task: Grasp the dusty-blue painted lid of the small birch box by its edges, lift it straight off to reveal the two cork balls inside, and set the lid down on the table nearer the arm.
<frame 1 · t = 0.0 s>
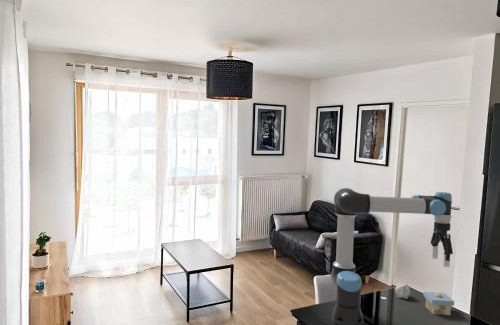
hand: (440, 262, 189), 28 cm above the table, fingers open, 13 cm apart
lid: (438, 300, 194), point 6 cm above the table, touching box
box: (437, 311, 194), on the table
cork ball 2: (439, 309, 195), point 1 cm above the table, touching box
cork ball 1: (435, 312, 192), point 1 cm above the table, touching box
grey faceted lump: (402, 298, 211), on the table
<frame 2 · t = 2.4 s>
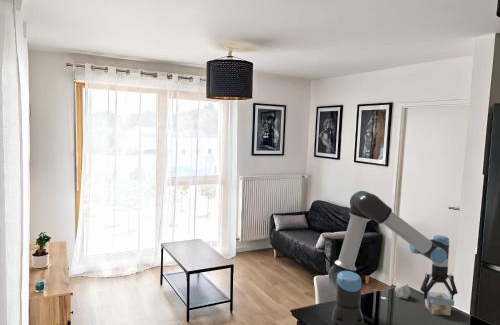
hand: (438, 305, 194), 3 cm above the table, fingers closed on lid, 11 cm apart
lid: (438, 300, 194), point 6 cm above the table, touching box, gripper
everything else where it was.
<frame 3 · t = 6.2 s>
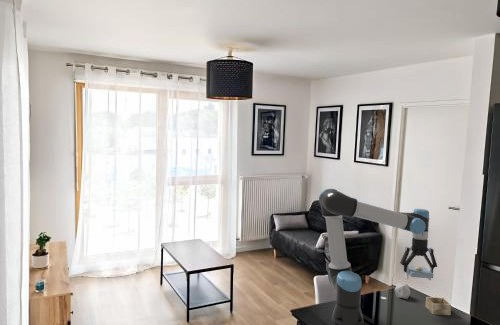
hand: (417, 278, 194), 17 cm above the table, fingers closed on lid, 11 cm apart
lid: (418, 274, 193), point 20 cm above the table, touching gripper
everything else where it was.
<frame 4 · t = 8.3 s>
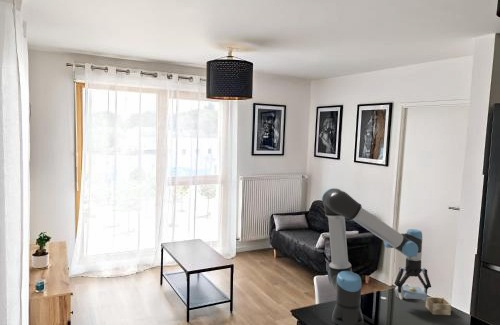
hand: (412, 299, 194), 6 cm above the table, fingers closed on lid, 11 cm apart
lid: (412, 294, 194), point 9 cm above the table, touching gripper
everything else where it was.
when the fingers open (0 cm above the table, at t = 10.0 s): lid drops 3 cm, on the table.
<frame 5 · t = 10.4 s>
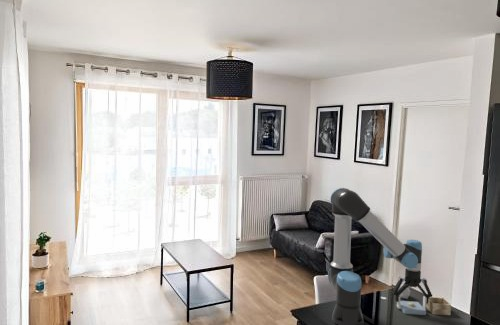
hand: (411, 308, 194), 1 cm above the table, fingers open, 13 cm apart
lid: (411, 309, 194), on the table
everything else where it was.
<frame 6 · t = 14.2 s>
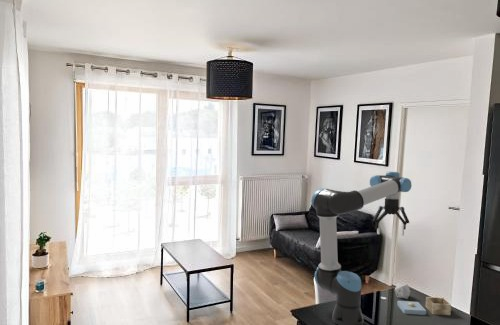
hand: (390, 234, 211), 37 cm above the table, fingers open, 13 cm apart
nothing on the table moved.
at the end: lid inside the target area (0.0 cm from its centre), on the table; lid tilted 0°; the gripper is holding nothing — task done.
